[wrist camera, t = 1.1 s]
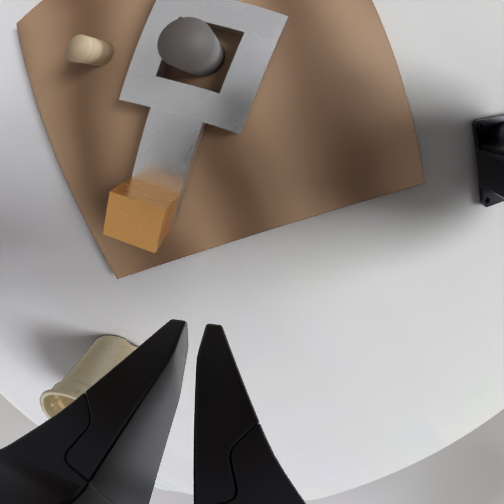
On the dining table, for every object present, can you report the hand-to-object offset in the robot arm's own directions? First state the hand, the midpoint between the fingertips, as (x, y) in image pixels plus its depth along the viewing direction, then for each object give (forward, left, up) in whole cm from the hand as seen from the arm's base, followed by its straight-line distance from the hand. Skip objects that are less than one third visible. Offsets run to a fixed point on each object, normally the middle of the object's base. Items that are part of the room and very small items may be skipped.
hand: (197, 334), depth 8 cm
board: (-1, -9, -12) cm, 15 cm away
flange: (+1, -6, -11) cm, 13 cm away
